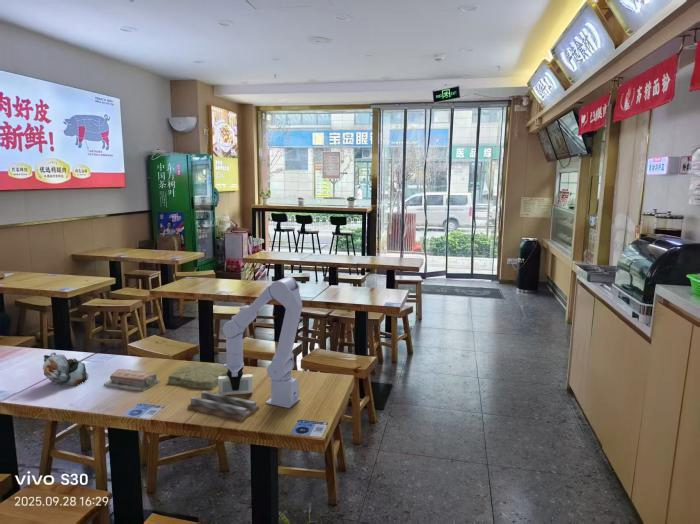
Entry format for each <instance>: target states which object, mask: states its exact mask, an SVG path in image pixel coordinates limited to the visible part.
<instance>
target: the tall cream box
mask: <svg viewBox="0 0 700 524" xmlns="http://www.w3.org/2000/svg"><path fill="white" fill-rule="evenodd" d="M253 379H254V378H253V374H252V373H251V374H250V373H249V374H243V375H242V377H241V380H240V386H239V390H235V391H233V390H232V386H231V382H230V379H229V377H228V376H219V377H218V385H217V386H218V388H217V389H218V394H222V395H226V396H228V395H236V394H237V395H239V394H250V393H251V394H252V393H254V388H253V386H254V385H253V381H254V380H253Z"/></svg>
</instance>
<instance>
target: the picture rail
mask: <svg viewBox="0 0 700 524" xmlns="http://www.w3.org/2000/svg"><path fill="white" fill-rule="evenodd" d="M200 394H201V395H200V397H198V396H197V397H196V396H192V397H190V404H188V405H187V409H189V410H194V411H197V412H202V413H205V414H209V415H210V414H211V415H214V416H218V417H222V418H227V419H230V420H235V421H238V422H242V421H244V420H245V419H247V418H248V417H249V416H250V415H252V414H253V413H255V412H256V411H258V410H259V408H260V406H259V405H257V402H256V401H253V400H249V399H245V398H244V399H243V398H241V397H234V396H232V395H222V394H219V393H216V392H211V391H207V390H202V391H201V392H200Z"/></svg>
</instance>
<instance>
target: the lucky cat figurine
mask: <svg viewBox="0 0 700 524" xmlns="http://www.w3.org/2000/svg"><path fill="white" fill-rule="evenodd" d="M43 362H44V363H43V366H42V369H43V370H42V371H43V374H44V376H45V377H46V378H47V380H49V381H51V384H52V385H56V384H57V383H58V384H60V385H70V386H71V385H72V386H79V385H81V384H83V383H82V382H84V383H85V382H86V381H88V379H89V373H87V369H86V364H85V363H83V362H82V361H80V360H78V359H76V358H66V356H65V354H56V352H51V353H50V355H46V354H45V355H43ZM80 383H81V384H80ZM58 384H57V385H58ZM78 384H79V385H78Z"/></svg>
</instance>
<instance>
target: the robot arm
mask: <svg viewBox="0 0 700 524" xmlns="http://www.w3.org/2000/svg"><path fill="white" fill-rule="evenodd" d="M272 300H276V301H277V303H279V304H281V305H282V306H283V307H284V309H285V311H284V316H283V317H284V318H283V321H282V325H281V331H280V334H279V338H278V344H277V346H276V347H277V348H276V351H275V353H274V355H273V357H272V359H271V363H270V364H269V365H268V366H267V368H266V370H267V371H266V372H267V375H268V377H269V378H270V398H269V399H268V400H267V401H265V404H268V405H274V406H277V407H282V408H286V409H290V408H291V407H292V406H294V405H295V404H296V403H297V402H298V401H300V400H301V398H300V382H299V381H298V379H296V378H294V377H293V376H292V371H293V369H294V367H295V361H294V356H295V354H294V353H293V350H294V343H295V340H296V335H297V331H298V328H299V327H298V326H299V323H300V318H301V314H302V310H303V300H302V297H301V293H300V284H299V283H298V281H297V280H296V279H295V278H294V277H292V276H285V277H283V278H281V279H279V280H275V281H273V282H272V283H271V284H270V285H268V286H266V288H265V289H264V290H263V291H262V292H261V293H260V294H259V295H258V296H257V297H256V298H255V299H254V301H253V302H251V304H250V305H247V304H245V305H242V306H241V307H240V308H239V310H238V311H237V313H236V314H235V315H232V316H231V320H228V321H226V322H224V324H223V326H222V332H223V334H224V336H225V341H226V345H225V346H226V348H225V349H226V363H224V364H223V365H224V367H227V368H228V371H229V372H227V376H228V377H229V379H230V382H231V386H232V390H233V391H235V390H239V386H240V380H241V377H242V375H244V371H243V370H244V366H245V363H244V348H243V347H244V346H243V345H244V344H243V343H244V342H243V337H244V334H243V333H244V332H245V330H246V328H247V327H248V326H249V325H250V324H251V323H252V322H253V321H255V319H256V318H257V316H258V311H259V310H260V309H262V308H263V307H264V306H265V305H266V304H267V303H268V302H269V301H272Z"/></svg>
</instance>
